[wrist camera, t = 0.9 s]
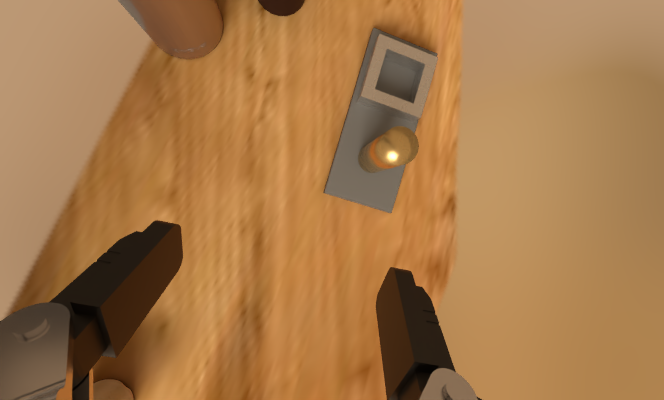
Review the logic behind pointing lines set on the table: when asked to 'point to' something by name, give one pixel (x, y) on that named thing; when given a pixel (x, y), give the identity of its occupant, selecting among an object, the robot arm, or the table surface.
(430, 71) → the collar
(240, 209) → the table surface
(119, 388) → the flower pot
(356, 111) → the grey base plate
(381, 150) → the pin
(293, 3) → the bottle
